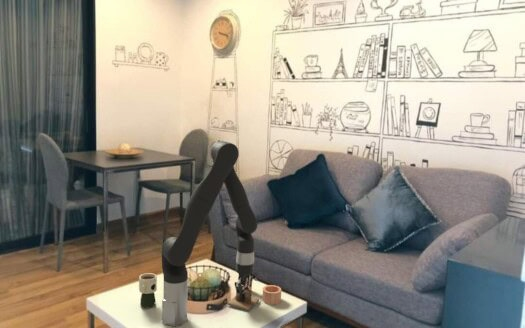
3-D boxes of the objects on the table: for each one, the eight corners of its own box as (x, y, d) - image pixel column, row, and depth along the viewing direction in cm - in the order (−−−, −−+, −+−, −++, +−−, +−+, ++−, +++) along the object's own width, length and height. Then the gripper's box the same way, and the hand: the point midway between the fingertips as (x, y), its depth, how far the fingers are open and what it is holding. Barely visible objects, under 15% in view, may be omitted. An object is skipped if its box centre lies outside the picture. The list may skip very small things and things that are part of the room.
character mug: (151, 312, 177) (151, 282, 175) (135, 311, 178) (134, 281, 176) (160, 300, 188) (160, 271, 186) (144, 299, 189) (144, 270, 187)
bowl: (276, 307, 185) (276, 294, 185) (259, 303, 189) (259, 290, 188) (283, 299, 193) (284, 287, 192) (267, 295, 196) (267, 283, 195)
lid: (248, 310, 180) (249, 297, 179) (227, 304, 184) (228, 291, 183) (259, 300, 188) (259, 288, 188) (238, 295, 193) (239, 283, 192)
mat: (249, 314, 179) (249, 312, 179) (226, 307, 184) (226, 306, 184) (260, 303, 189) (260, 301, 189) (238, 297, 194) (238, 295, 194)
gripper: (245, 254, 191) (243, 291, 194) (229, 264, 178) (227, 304, 181) (260, 257, 188) (258, 295, 191) (245, 268, 175) (243, 308, 178)
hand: (243, 299), depth 186 cm, fingers closed on lid, 2 cm apart
